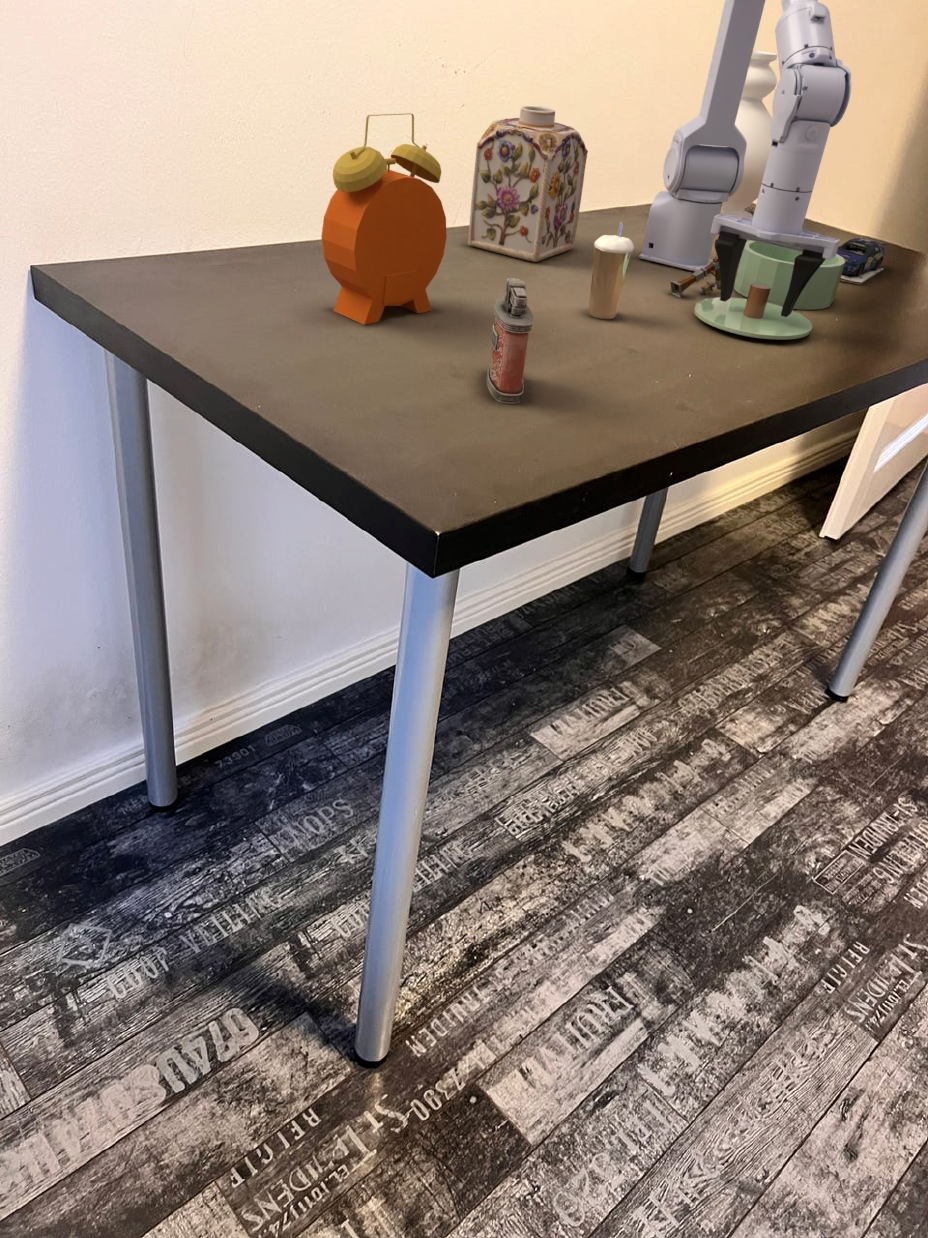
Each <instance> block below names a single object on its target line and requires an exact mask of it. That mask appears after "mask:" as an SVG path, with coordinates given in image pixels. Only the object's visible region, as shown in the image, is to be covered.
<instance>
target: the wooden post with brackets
mask: <svg viewBox="0 0 928 1238" xmlns="http://www.w3.org/2000/svg"><path fill="white" fill-rule="evenodd" d="M709 274H710V275H711V276H713V277H714V282H708V281H706V284H704V285H701V286H700V289H699V294H701V295H703V294H704V295H707V294H708V293H710V292H712V293H713V292H714V289H713V288H716V290H719V291H721V279H720V268H719V262H718V257H714V259H713V261H712V262H710V264H709V265H708V266H706V267H704V268H700V270H699V269H698V270H697V271H696V272H695V271H693V273H691V275H689V276H687V277H685V278H683V279H681V280H678V281H676V280H669V284H670V290H671V291H670V292H671V295H674V296H676V297H678V298H681V297H683V292H684V291H685V290H686V289H688V288H689V287H691V286H692V285H694V284H695V283H699V282H700V281H701V280H703V279H705V278H707V277H708V275H709Z"/></svg>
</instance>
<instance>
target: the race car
mask: <svg viewBox="0 0 928 1238" xmlns="http://www.w3.org/2000/svg"><path fill="white" fill-rule="evenodd" d="M879 244H880V245H879ZM881 245H882V246H881ZM885 248H886V243H885V242H881V241H878V240H873V239H869V238H865V237H853V238H851V239H849V240H847V241H844V243H842V244H841V245H839V246H838V249H837V252H836V254H838V255H840V256H841V257H843V258H844V260H845V265H844V268H843V272H842V275H841V278H840V281H839V282H843V283H850V284H854V285H862V284H864V283H865V282H867V281H869V280H870V279H872V278H873V277H875V276H876V275H877V274H879V273H880V272H882V271H883V270H885V268H879V267H880V266H881V264H882V263H883V261H884V258H885Z"/></svg>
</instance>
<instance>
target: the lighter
mask: <svg viewBox="0 0 928 1238" xmlns="http://www.w3.org/2000/svg"><path fill="white" fill-rule="evenodd" d="M526 286H527V285H526V281H524V280H523V281H522V280H521V279H518V278H514V277H509V278H507V279H506V285H505V294H504V296H501V297H497V298H496V299H495V303H494V310H493V314H494V315H493V316H494V319H495V320H494V323H493V324H492V329H491V346H492V348H491V356H490V364H489V365H488V368H487V375H486V385H487V389H488V391H489V393H490V395H491V396H492V397H493V398H494V400H495V401H497V402H500V403H502V404H511V405H513V404H519V403H521V402H522V401H523V395H524V389H525V388H524V387H525V383H524V374H525V373H524V371H525V365H526V357H527V349H528V341H529V335H530V332H531V331H532V326H533V319H534V316H533V312H532V310H531V308H530V307H529V306H528V295H527V291H526V289H527V287H526Z"/></svg>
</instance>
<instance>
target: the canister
mask: <svg viewBox="0 0 928 1238" xmlns="http://www.w3.org/2000/svg"><path fill="white" fill-rule="evenodd" d="M782 242H783V241H782ZM786 243H788V242H786ZM802 253H803V252H800V251H796V250H792V249H787V248H783V247H778V246H774V245H769V244H765V243H760V242H756V241H751V240H747V242H746V244H745V247H744V250H743V253H742V256H741V259H740V262H739V265H738V269H737V273H736V278H735V283H734V288H733V290H734V291H735V292H737V293H738V294H739V295H741V296H743V297H745V298H747V297H748V293H749V289H750V286H751V284H752V283H762V284H766V285H769V286H770V287H771V290H770V293H769V297H768V301H767V303H770V304H774V305H778V306H781V307H783V305H784V302H785V299H786V296H787V293H788V290H789V286H790V282H791V277H792V273H793V267H794V261H795V258H796V257H797V256H798V255H801V254H802ZM844 265H845V260H844V258H843V257H841V256H840V255H838V254H836V256H835V257H834V258H833V259H831V260H830V259H826V260H825V261H824V262H823V263H822V265H821V266H820V267H819V268H818V269H817V271H816V272H815V273H814V275H813V276H812V277H811V279H810V280H809V281H808V283H807V284H806V286H805V287H804V289H803V290H802V292H801V294H800V296H799V297H798V299H797V301H796V303H795V305H794V307H793V310H800V311H801V310H804V311H813V310H814V311H815V310H823V309H826V308H829V307H831V306H832V304H833V301H835V297H836V294H837V290H838V288H839V284H840V282H841V281H840V278H841V275H842V272H843V268H844Z"/></svg>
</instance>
